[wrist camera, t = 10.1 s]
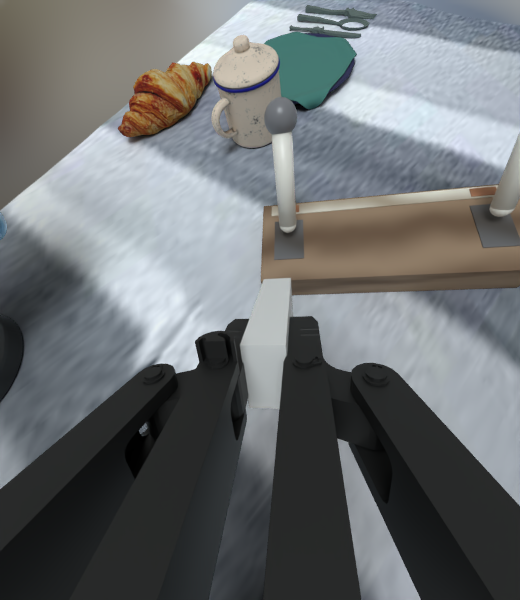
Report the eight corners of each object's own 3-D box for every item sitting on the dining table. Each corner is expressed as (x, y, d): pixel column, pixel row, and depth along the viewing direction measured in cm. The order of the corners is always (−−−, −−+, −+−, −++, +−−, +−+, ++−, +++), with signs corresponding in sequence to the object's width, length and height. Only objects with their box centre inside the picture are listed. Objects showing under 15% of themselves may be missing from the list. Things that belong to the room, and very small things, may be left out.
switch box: (516, 287, 27) (551, 267, 23) (266, 296, 31) (260, 280, 27) (488, 209, 30) (514, 181, 27) (268, 227, 35) (263, 205, 31)
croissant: (209, 93, 55) (184, 47, 50) (232, 78, 47) (205, 22, 42) (132, 155, 51) (96, 111, 46) (144, 150, 43) (102, 97, 38)
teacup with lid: (256, 105, 45) (240, 12, 34) (297, 122, 42) (292, 25, 31) (207, 148, 43) (173, 63, 32) (245, 170, 40) (221, 84, 29)
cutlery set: (219, 102, 47) (216, 87, 45) (300, 13, 55) (300, -3, 53) (319, 126, 41) (320, 111, 39) (395, 22, 48) (399, 4, 46)
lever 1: (301, 236, 27) (296, 94, 20) (274, 238, 28) (260, 100, 20) (301, 225, 29) (296, 94, 22) (276, 227, 30) (264, 99, 23)
